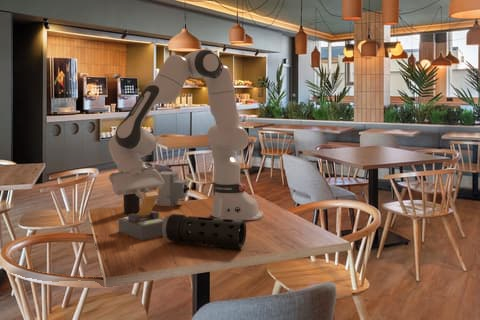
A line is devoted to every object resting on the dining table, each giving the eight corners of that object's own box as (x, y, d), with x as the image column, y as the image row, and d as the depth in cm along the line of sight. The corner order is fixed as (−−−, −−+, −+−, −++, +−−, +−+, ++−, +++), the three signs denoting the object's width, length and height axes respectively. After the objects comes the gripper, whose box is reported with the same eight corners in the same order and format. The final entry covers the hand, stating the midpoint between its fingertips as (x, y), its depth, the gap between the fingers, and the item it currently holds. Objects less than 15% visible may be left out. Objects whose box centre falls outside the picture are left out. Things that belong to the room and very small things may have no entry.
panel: (118, 231, 195) (118, 212, 194) (145, 225, 203) (145, 207, 202) (141, 240, 184) (141, 219, 183) (169, 234, 192) (169, 214, 191)
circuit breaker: (186, 206, 237) (185, 174, 235) (157, 205, 240) (156, 173, 238) (191, 203, 245) (190, 172, 243) (162, 202, 247) (161, 171, 245)
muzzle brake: (237, 254, 169) (237, 223, 167) (161, 246, 177) (160, 216, 176) (246, 245, 178) (246, 216, 176) (173, 238, 186) (172, 210, 185)
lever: (135, 217, 192) (144, 193, 186) (147, 214, 196) (156, 191, 190) (138, 220, 191) (146, 196, 185) (149, 218, 194) (159, 194, 188)
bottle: (136, 210, 231) (135, 166, 228) (142, 213, 225) (140, 167, 222) (121, 211, 227) (120, 167, 225) (127, 215, 221) (125, 169, 219)
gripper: (110, 168, 187) (124, 198, 181) (157, 163, 201) (172, 191, 195) (104, 179, 191) (118, 209, 185) (151, 173, 205) (165, 201, 199)
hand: (146, 200), depth 190 cm, fingers closed
